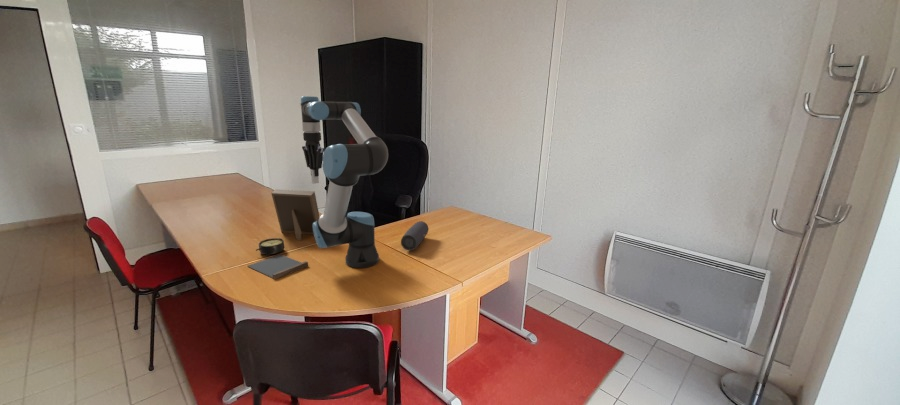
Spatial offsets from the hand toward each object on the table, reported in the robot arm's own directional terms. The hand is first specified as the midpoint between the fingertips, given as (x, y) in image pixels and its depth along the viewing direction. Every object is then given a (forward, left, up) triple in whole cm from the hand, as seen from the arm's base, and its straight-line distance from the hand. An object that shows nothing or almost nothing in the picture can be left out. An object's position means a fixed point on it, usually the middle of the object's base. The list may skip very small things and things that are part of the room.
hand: (315, 182), depth 173 cm
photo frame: (+28, -7, -35) cm, 45 cm away
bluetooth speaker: (-32, -35, -35) cm, 59 cm away
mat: (+1, +22, -34) cm, 41 cm away
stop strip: (-9, +22, -34) cm, 42 cm away
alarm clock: (+14, +19, -32) cm, 40 cm away
